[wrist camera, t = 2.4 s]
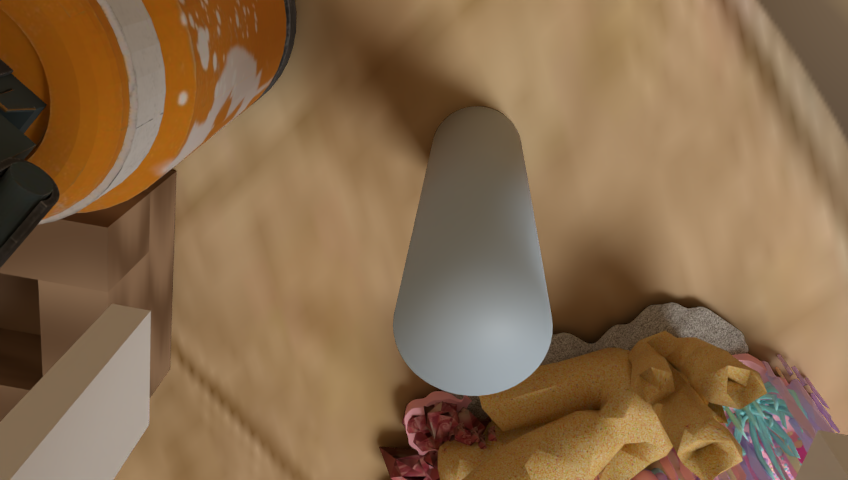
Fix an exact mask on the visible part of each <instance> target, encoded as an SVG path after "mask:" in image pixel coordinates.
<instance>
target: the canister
mask: <svg viewBox="0 0 848 480" xmlns="http://www.w3.org/2000/svg"><path fill="white" fill-rule="evenodd" d="M295 33H296V7H295V0H0V268H1V267H2V265H3V264H4V263H5V262H6V261H7V260H8V259H9V257H10V256H11V255H12V254H13V253H14V252H15V250H16V249H17V248H18V247H19V246H20V245H21V243H22V242H23V241H24V240H25V239H26V238H27V236H28V235H29V234H30V233H31V232H32V231H33V229H34V228H35V227H36V226H37V225H39V224H44V223H48V222H53V221H57V220H59V219H62V218H65V217H67V216H70V215H72V214H75V213H87V212H91V211H96V210H101V209H106V208H109V207H112V206H115V205H117V204H120V203H122V202H125V201H127V200H129V199H131V198H133V197H134V196H136V195H137V194H139V193H141V192H142V191H144V190H145V189H147V188H148V187H149V186H151V185H152V184H153V183H154V182H156V181H157V180H158V179H159V178H161V177H162V176H163V175H164V174H166V173H167V172H168V171H169V170H171V169H172V168H173V167H174V166H176V165H177V164H178V163H180V162H181V161H182V160H183V159H185V158H186V157H187V156H188V155H190V154H191V153H192V152H193V151H195V150H196V149H197V148H198V147H200V146H201V145H202V144H203V143H205V142H206V141H207V140H208V139H210V138H211V137H212V136H213V135H215V134H216V133H217V132H218V131H220V130H221V129H222V128H223V127H225V126H226V125H227V124H228V123H230V122H231V121H232V120H233V119H235V118H236V117H237V116H238V115H240V114H241V113H242V112H243V111H245V110H246V109H247V108H248V107H249V106H250V105H252V104H253V103H255V102H256V101H257V100H258V99H260V98H261V97H262V96H263V95H264V94H265V93H266V92H267V91H268V90H269V89H271V87H272V86H273V85H274V84H275V82H276V81H277V80H278V78H279V77H280V76H281V74H282V72H283V70H284V68H285V66H286V65H287V63H288V60H289V57H290V54H291V51H292V48H293V44H294V38H295Z"/></svg>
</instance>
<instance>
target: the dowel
mask: <svg viewBox="0 0 848 480" xmlns="http://www.w3.org/2000/svg"><path fill="white" fill-rule="evenodd" d="M393 331H394V337H395V342H396V345H397V348H398V350H399V352H400V354H401V356H402V358H403V359H404V361H405V362H406V364H407V365H408V366H409V367H410V369H411V370H412V371H413V372H414V373H415V374H416V375H418V376H419V377H420V378H421V379H423V380H424V381H426V382H427V383H429V384H430V385H432V386H434V387H436V388H438V389H441V390H444V391H447V392H450V393H454V394H458V395H467V396H481V395H489V394H494V393H498V392H501V391H504V390H507V389H509V388H512V387H514V386H516V385H517V384H519V383H521V382H522V381H524V380H525V379H526V378H528V377H529V376H530V375H531V374H532V373H533V372H534V371H535V370H536V369H537V368H538V367H539V365H540V364H541V362H542V361H543V360H544V358H545V356H546V354H547V352H548V349H549V346H550V343H551V339H552V331H553V323H552V315H551V309H550V303H549V298H548V292H547V286H546V281H545V275H544V269H543V264H542V258H541V252H540V247H539V241H538V235H537V229H536V224H535V218H534V212H533V207H532V201H531V195H530V190H529V184H528V178H527V173H526V167H525V161H524V156H523V150H522V144H521V140H520V136H519V133H518V131H517V129H516V128H515V126H514V124H513V123H512V122H511V121H510V120H509V119H508V118H507V117H506V116H505V115H503V114H502V113H500V112H498V111H497V110H494V109H491V108H488V107H481V106H472V107H466V108H463V109H460V110H458V111H456V112H454V113H452V114H451V115H449V116H448V117H447V118H446V119H445V120H444V121H443V122H442V123H441V124H440V126H439V127H438V129H437V131H436V133H435V135H434V138H433V143H432V147H431V151H430V156H429V160H428V165H427V169H426V174H425V178H424V183H423V187H422V192H421V196H420V201H419V205H418V210H417V214H416V219H415V223H414V227H413V232H412V236H411V241H410V245H409V250H408V254H407V259H406V263H405V268H404V272H403V277H402V281H401V286H400V290H399V295H398V299H397V303H396V308H395V312H394V320H393Z"/></svg>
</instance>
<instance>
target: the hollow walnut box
mask: <svg viewBox="0 0 848 480" xmlns="http://www.w3.org/2000/svg"><path fill="white" fill-rule="evenodd" d="M175 198H176V171H172V170H169V171H168V172H167V173H166V174H164V175H163V176H162V177H161V178H159V179H158V180H157V181H156V182H154V183H153V184H152V185H151V186H149V187H148V188H147V189H145V190H144V191H142V192H141V193H139V194H137V195H136V196H134V197H133V198H131V199H129V200H127V201H125V202H122V203H120V204H117V205H115V206H112V207H109V208H106V209H101V210H96V211H91V212H87V213H75V214H72V215H70V216H67V217H65V218H62V219H59V220H57V221H53V222H48V223H44V224H39V225H37V226H36V227H35V228H34V229H33V231H32V232H31V233H30V234H29V235H28V236H27V238H26V239H25V240H24V241H23V242H22V243H21V245H20V246H19V247H18V248H17V249H16V250H15V252H14V253H13V254H12V255H11V256H10V257H9V259H8V260H7V261H6V262H5V263H4V264H3V265H2V267H1V268H0V422H1V421H2V419H3V418H4V417H5V416H6V415H7V414H8V413H9V412H10V411H11V410H12V409H13V408H14V407H15V406H16V405H17V404H18V403H19V401H20V400H21V399H22V398H23V397H24V396H25V395H26V394H27V393H28V392H29V391H30V390H31V389H32V388H33V387H34V386H35V385H36V384H37V382H38V381H39V380H40V379H41V378H42V377H43V376H44V375H45V374H46V373H47V372H48V371H49V370H50V369H51V368H52V367H53V366H54V364H55V363H56V362H57V361H58V360H59V359H60V358H61V357H62V356H63V355H64V354H65V353H66V352H67V351H68V350H69V349H70V348H71V347H72V345H73V344H74V343H75V342H76V341H77V340H78V339H79V338H80V337H81V336H82V335H83V334H84V333H85V332H86V331H87V330H88V329H89V328H90V326H91V325H92V324H93V323H94V322H95V321H96V320H97V319H98V318H99V317H100V316H101V315H102V314H103V313H104V312H105V311H106V310H107V308H108V307H109V306H110V305H111V304H116V305H122V306H127V307H133V308H138V309H144V310H150V311H151V334H150V397H151V396H152V394H153V393H154V391H155V390H156V389H157V387H158V386H159V384H160V383H161V381H162V380H163V378H164V377H165V376H166V374H167V373H168V371H169V370H170V351H171V321H172V290H173V260H174V229H175Z"/></svg>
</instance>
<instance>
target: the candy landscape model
mask: <svg viewBox="0 0 848 480" xmlns="http://www.w3.org/2000/svg"><path fill="white" fill-rule="evenodd" d="M748 350H749V349H748V345H747V344H746V342H745V338H744V335H743V333H742V332H741V331H740V330H738V329H737V328H735V327H734V326H732V325H731V324H730V323H728V322H727V321H725V320H724V319H722V318H721V317H719V316H718V315H716V314H715V313H713V312H712V311H710V310H709V309H707V308H704V307H695V308H685V307H683V306H681V305H679V304H677V303H672V302H671V303H666V304H661V305H650V306H648V307H647V308H646V309H644V310H643V311H642V312H641V313H640V314H639V315H638V316H637V317H636V318H635V319H634V320H633V321H632V322H631V323H629V324H623V325H615V326H613V327H611V328H610V329H609V330H608V331H607V332H606V333H605V334H604V335H603V336H602V337H601V338H600V339H599V340H598V341H597V342H596V343H593V344H588V343H586V342H584V341H582V340H581V339H579V338H577V337H576V336H574V335H572V334H570V333H559V334H555V335H554V334H552V339H551V343H550V346H549V349H548V352H547V354H546V356H545V358H544V360H543V361H542V362H541V364H540V365H539V367H538V368H537V369H536V370H535V371H534V372H533V373H532V374H531V375H530V376H529V377H528V378H526V379H525V380H524V381H522V382H521V383H519V384H517V385H516V386H514V387H512V388H509V389H507V390H504V391H501V392H498V393H494V394H489V395H481V396H467V395H458V394H454V393H450V392H447V391H444V390H443V391H434V392H432V393H430V394H429V395H428V396H427V397H425V398H423V399H415V400H412V401H411V402H410V403H409V404H407V405H406V409H405V413H404V417H403V421H402V424H403V425H404V427H405V428H406V433H407V435H408V441H409V444H410V446H411V447H413V448H414V449H404V448H389V447H379V448H380V450H381V453H382V456H383V458H384V461H385V464H386V467H387V469H388V472H389V475H390V477H391V479H392V480H795V478H796V476H797V474H798V472H799V470H800V468H801V465H802V463H803V461H804V459H805V457H806V455H807V453H808V450H809V448H810V446H811V444H812V442H813V440H814V438H815V435H816V433H817V431H818V430H822V431H827V432H833V433H835V432H834V431H833V430H832V428H833V429H835V430H836V431H837V432H838V433H840V431H839V429H838V428H837V427H836V425H835V424H834V422H833V421H832V420H831V416H830V415H829V413H828V412H827V411H826V410H825V408H824V407H823V406H822V405H821V403H822V404H823V405H824V406H826V407H827V408H829V407H828V406H827V404H826V403H825V401H824V400H823V398H822V397H821V396H820V394H819V393H818V392H817V390H816V389H815V388H814V386H813V385H812V383H811V382H810V380H809V379H808V378H805V380H806V381H805V380H804V378H803V377H802V376H801V374H800V373H799V371H798V370H797V368H796V367H795V366H793V367H791V368H792V369H793V370H794V372H795V373H796V375H797V378H799V379H800V381H801V383H800V382H799V381H798V380H797V379H795V380H791V383H790V384H788V382H787V381H786V379H785V378H784V376H783V374H782V373H781V371H780V369H779V368H778V367H776V368H775V369H776V371H777V373H778V374H779V375H780V376H781V377H777V376H776V375H775V374H774V373H773V371H772V369H771V367H770V365H769V363H768V362H766V361H760V360H758V359H757V358H755V357H753V356H751V355H750V354H748V353H747V352H748ZM777 357H778V358H779V359H780V361H781V362H782V364H783V365H784V367H785V369H786V370H787V372H788V373H789V375H790V376H791V375H792V374H793V373H792V371H791V369H790V368H789V366H788V365H787V363H786V362H785V361H784V359H783V358H782V356H781V355H780V354H778V355H777ZM808 384H809V386H810V388H811V390H812V391H813V392H814V393H811V394H810V396H811V397H810V396H809V394H808V393H807V391H806V390H805V389H804V387H803V386H805V385H808ZM815 395H816V396H817V397H818V399H819V400H820V401H821V403H820V402H819V400H818V399H817V397H816V396H815ZM812 399H813V400H812ZM813 401H814V402H815V403H814V402H813ZM815 404H816V405H815ZM818 409H819V410H818ZM820 412H821V413H822V414H823V415H824V416H825V418H826V419H827V421H828V422H829V424H830V425H831V427H832V428H831V427H830V426H829V424H828V423H827V422H826V420H825V419H824V417H823V416H822V414H821V413H820Z"/></svg>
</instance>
